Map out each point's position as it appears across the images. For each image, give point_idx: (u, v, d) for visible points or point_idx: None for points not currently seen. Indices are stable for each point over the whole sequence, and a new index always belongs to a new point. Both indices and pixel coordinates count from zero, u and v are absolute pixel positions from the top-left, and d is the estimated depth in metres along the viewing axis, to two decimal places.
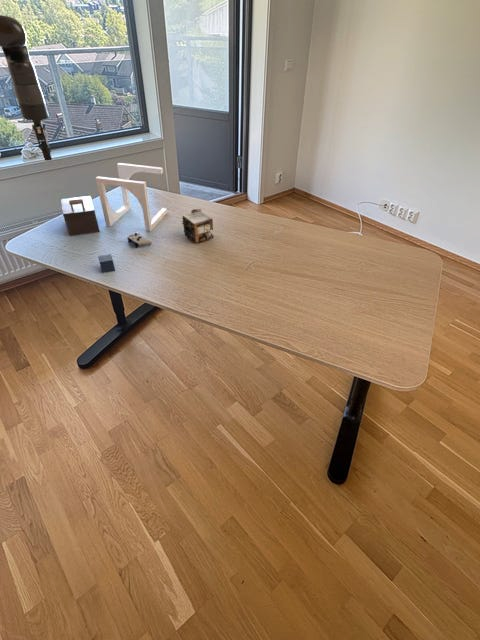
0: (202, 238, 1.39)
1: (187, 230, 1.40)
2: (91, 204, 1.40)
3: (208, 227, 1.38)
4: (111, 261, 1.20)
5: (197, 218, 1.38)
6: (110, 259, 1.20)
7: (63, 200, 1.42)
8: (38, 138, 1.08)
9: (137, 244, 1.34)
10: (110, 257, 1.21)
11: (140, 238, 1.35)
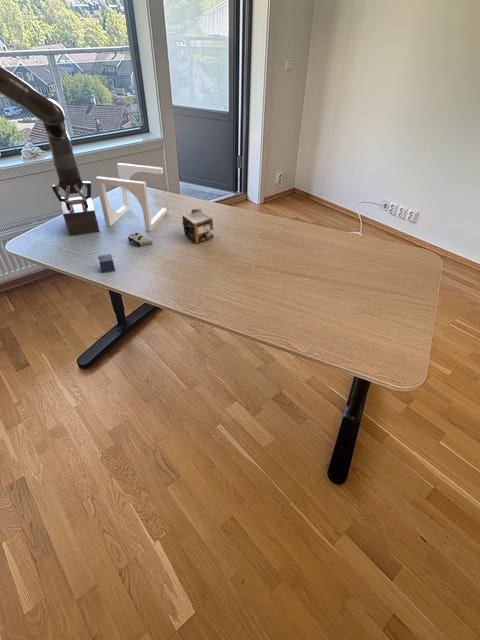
0: (202, 238, 1.39)
1: (187, 230, 1.40)
2: (91, 204, 1.40)
3: (208, 227, 1.38)
4: (111, 261, 1.20)
5: (197, 218, 1.38)
6: (110, 259, 1.20)
7: None
8: None
9: (138, 243, 1.34)
10: (110, 257, 1.21)
11: (141, 237, 1.35)
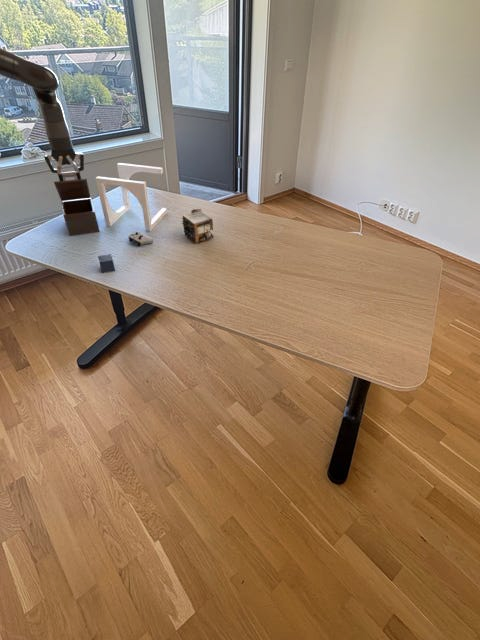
0: (202, 238, 1.39)
1: (187, 230, 1.40)
2: None
3: (208, 227, 1.38)
4: (111, 261, 1.20)
5: (197, 218, 1.38)
6: (110, 259, 1.20)
7: None
8: None
9: (139, 243, 1.35)
10: (110, 257, 1.21)
11: (141, 237, 1.36)
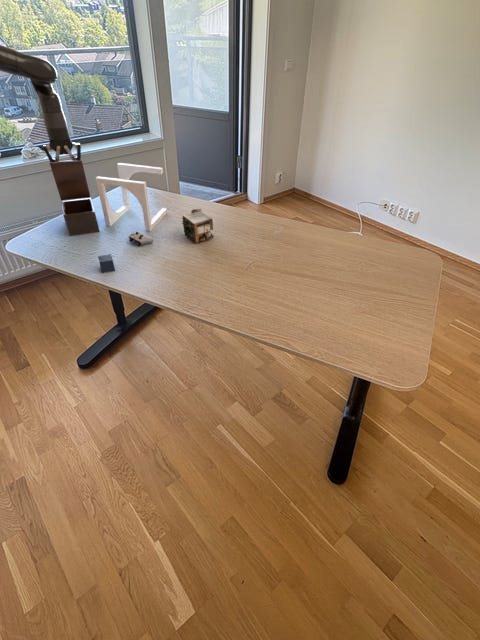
0: (202, 238, 1.39)
1: (187, 230, 1.40)
2: None
3: (208, 227, 1.38)
4: (111, 261, 1.20)
5: (197, 218, 1.38)
6: (110, 259, 1.20)
7: None
8: None
9: (139, 242, 1.35)
10: (110, 257, 1.21)
11: (142, 236, 1.36)
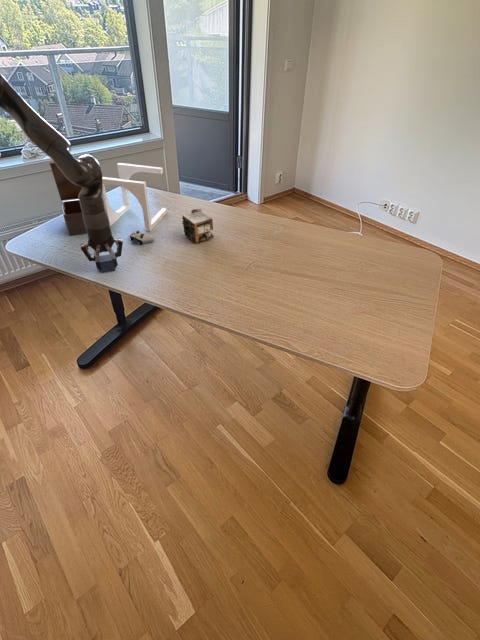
0: (202, 238, 1.39)
1: (187, 230, 1.40)
2: None
3: (208, 227, 1.38)
4: (111, 261, 1.20)
5: (197, 218, 1.38)
6: (110, 259, 1.20)
7: None
8: None
9: (141, 241, 1.36)
10: (110, 257, 1.20)
11: (143, 235, 1.37)
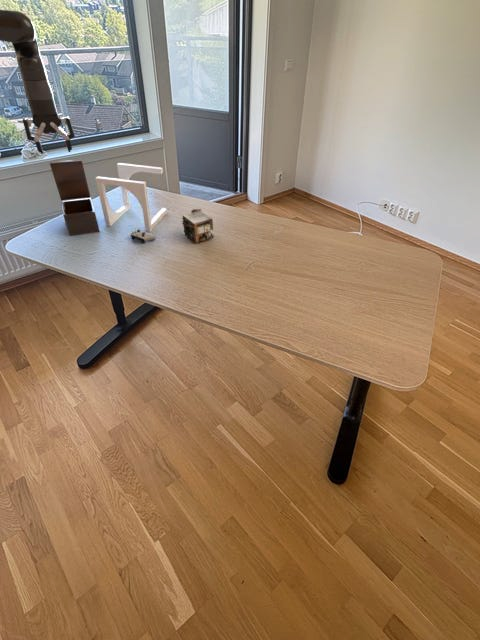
0: (202, 238, 1.39)
1: (187, 230, 1.40)
2: None
3: (208, 227, 1.38)
4: None
5: (197, 218, 1.38)
6: None
7: None
8: None
9: (143, 240, 1.37)
10: None
11: (144, 234, 1.38)
